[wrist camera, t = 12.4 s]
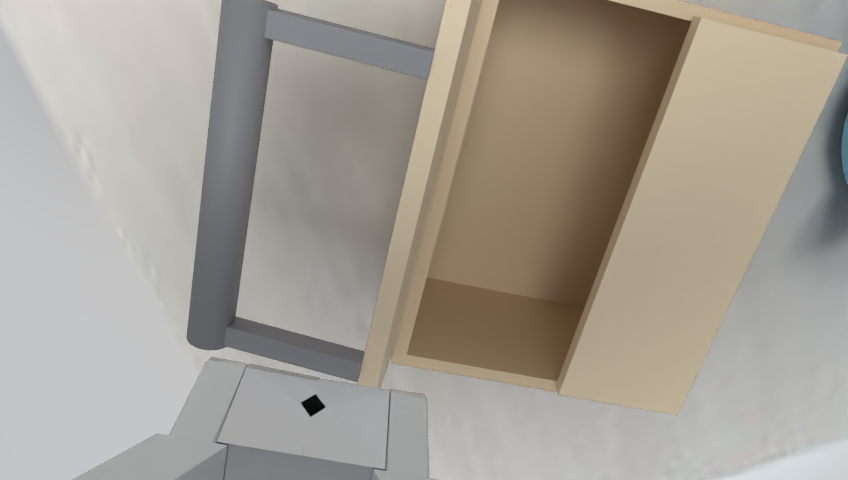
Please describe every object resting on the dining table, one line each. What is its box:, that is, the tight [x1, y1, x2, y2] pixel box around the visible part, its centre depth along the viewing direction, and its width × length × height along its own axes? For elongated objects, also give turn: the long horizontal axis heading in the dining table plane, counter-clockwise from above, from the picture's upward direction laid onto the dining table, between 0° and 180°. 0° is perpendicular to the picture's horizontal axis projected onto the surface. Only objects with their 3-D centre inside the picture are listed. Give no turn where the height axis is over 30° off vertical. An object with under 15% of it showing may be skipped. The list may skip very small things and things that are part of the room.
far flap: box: [187, 0, 480, 389], centre depth 24 cm, size 7×17×7 cm
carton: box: [391, 0, 848, 416], centre depth 32 cm, size 14×18×10 cm
